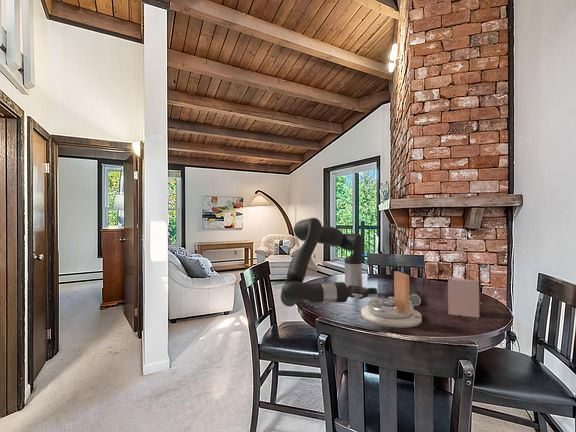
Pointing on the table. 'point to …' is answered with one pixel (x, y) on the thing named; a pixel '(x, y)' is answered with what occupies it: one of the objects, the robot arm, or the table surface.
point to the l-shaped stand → (394, 300)
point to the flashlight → (414, 294)
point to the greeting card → (463, 297)
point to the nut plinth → (387, 322)
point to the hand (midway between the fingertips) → (376, 290)
